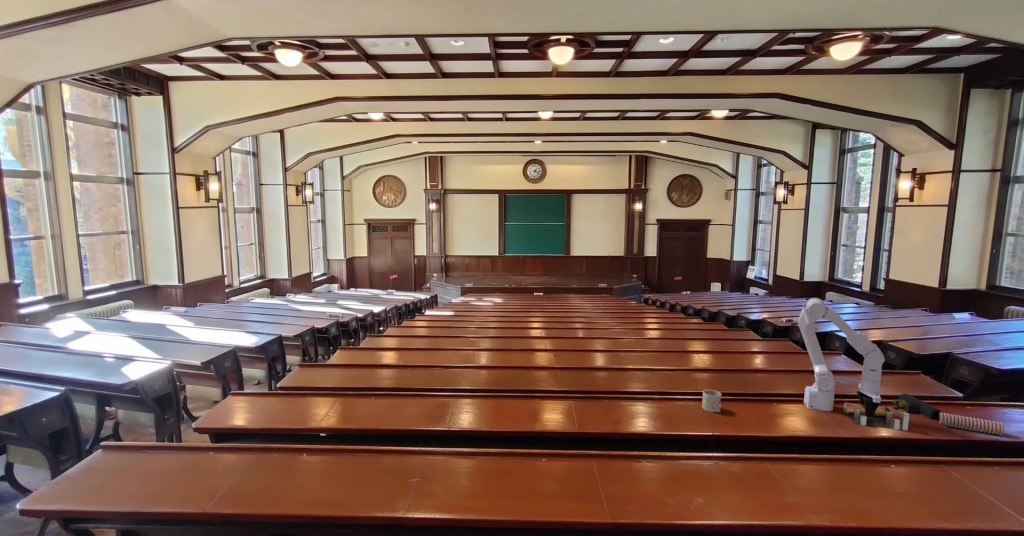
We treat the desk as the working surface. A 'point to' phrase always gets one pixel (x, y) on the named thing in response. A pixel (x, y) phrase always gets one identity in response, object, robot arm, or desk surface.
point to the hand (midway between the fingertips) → (867, 413)
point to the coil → (971, 423)
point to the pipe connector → (915, 406)
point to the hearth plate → (874, 421)
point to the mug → (711, 400)
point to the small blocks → (888, 418)
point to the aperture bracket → (904, 420)
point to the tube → (850, 410)
